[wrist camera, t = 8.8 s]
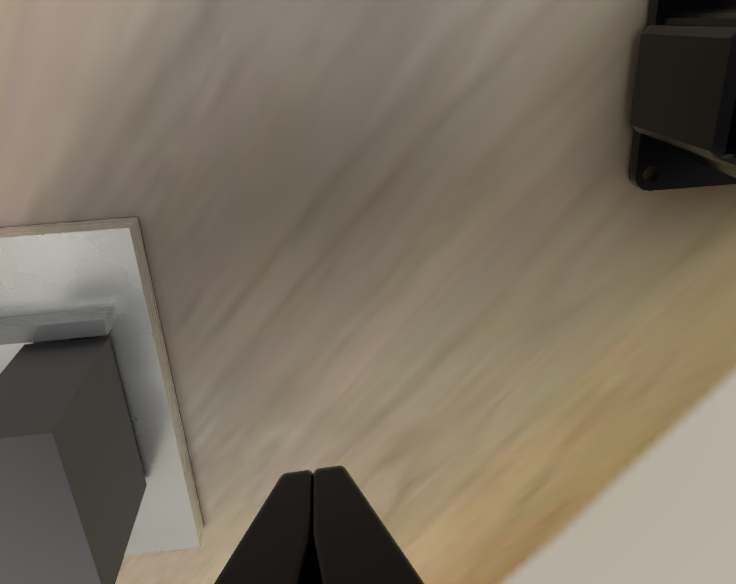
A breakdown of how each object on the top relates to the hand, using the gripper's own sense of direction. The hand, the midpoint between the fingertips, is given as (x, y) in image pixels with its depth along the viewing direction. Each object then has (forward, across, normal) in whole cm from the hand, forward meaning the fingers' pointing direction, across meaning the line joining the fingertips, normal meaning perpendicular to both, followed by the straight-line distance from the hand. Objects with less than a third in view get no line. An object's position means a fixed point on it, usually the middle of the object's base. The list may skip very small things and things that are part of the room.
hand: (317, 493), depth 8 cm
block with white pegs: (+10, +9, +6) cm, 15 cm away
